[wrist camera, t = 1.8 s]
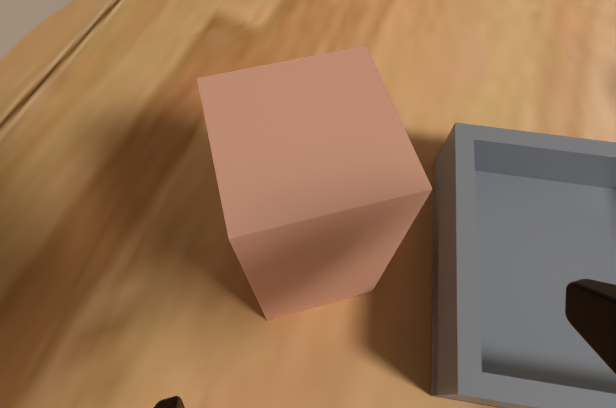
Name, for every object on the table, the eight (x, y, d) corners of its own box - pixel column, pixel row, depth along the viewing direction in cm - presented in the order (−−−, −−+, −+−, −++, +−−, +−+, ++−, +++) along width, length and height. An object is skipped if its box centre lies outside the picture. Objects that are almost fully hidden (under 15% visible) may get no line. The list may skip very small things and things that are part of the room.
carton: (371, 291, 22) (432, 188, 12) (266, 320, 22) (228, 239, 11) (340, 199, 25) (366, 45, 14) (245, 222, 24) (196, 78, 14)
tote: (658, 190, 25) (716, 155, 22) (727, 445, 19) (823, 455, 16) (434, 161, 26) (455, 122, 23) (430, 395, 20) (458, 393, 16)
